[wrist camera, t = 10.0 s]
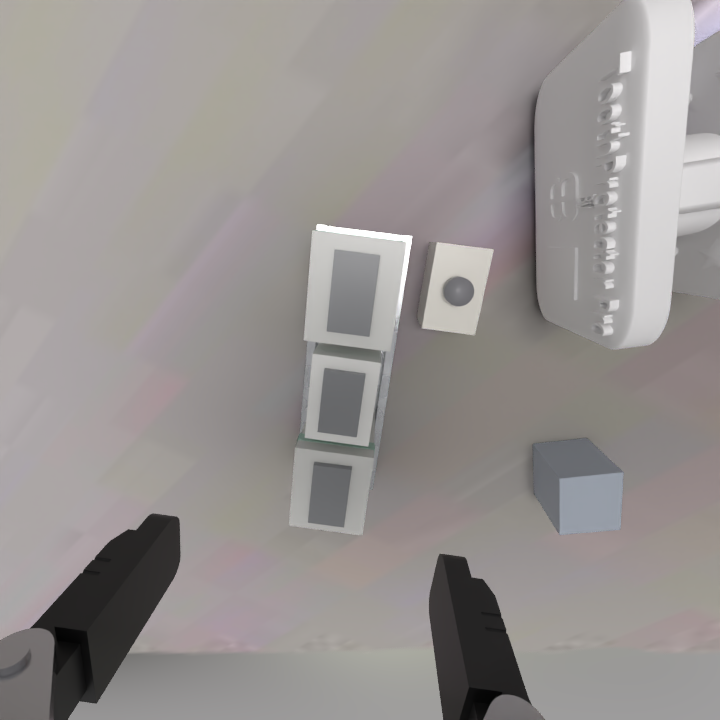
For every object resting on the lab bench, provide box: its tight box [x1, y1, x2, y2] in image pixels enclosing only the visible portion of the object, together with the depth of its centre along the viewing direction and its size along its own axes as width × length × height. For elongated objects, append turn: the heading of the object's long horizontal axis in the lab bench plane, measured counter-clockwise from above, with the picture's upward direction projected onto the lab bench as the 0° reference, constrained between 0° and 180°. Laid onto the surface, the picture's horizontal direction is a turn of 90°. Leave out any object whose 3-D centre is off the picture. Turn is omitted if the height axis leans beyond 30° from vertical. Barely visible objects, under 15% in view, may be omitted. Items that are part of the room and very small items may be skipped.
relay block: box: [533, 438, 624, 535], centre depth 30 cm, size 4×5×5 cm
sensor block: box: [417, 242, 494, 335], centre depth 26 cm, size 4×6×5 cm, turn 173°
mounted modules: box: [289, 230, 407, 535], centre depth 26 cm, size 5×19×7 cm, turn 173°
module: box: [305, 343, 381, 447], centre depth 26 cm, size 4×6×7 cm
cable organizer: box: [534, 0, 720, 350], centre depth 21 cm, size 15×11×12 cm
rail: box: [300, 224, 412, 489], centre depth 29 cm, size 6×20×2 cm, turn 173°
